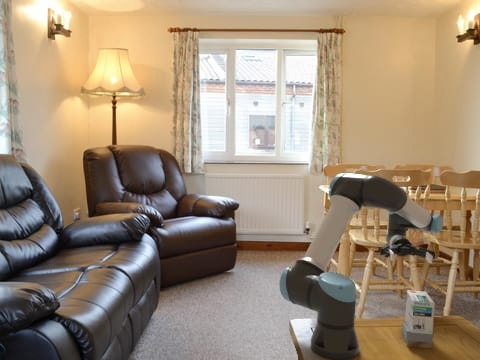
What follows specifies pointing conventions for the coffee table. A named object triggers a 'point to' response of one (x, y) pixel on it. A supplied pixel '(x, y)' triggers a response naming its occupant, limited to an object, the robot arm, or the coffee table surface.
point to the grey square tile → (416, 335)
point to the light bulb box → (419, 312)
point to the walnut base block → (416, 343)
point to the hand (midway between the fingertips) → (411, 258)
